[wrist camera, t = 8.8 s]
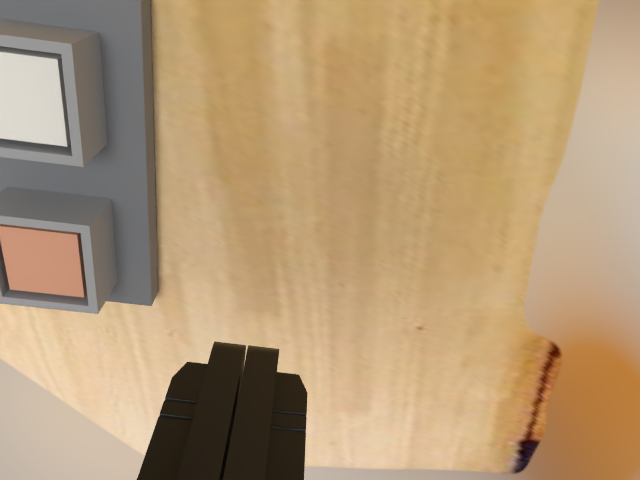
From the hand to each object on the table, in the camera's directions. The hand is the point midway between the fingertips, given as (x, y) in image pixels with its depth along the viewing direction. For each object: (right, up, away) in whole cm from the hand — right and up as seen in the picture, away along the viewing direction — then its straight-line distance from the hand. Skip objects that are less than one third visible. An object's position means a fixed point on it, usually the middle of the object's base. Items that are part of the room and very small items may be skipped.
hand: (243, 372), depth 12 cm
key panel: (-16, +9, +25) cm, 31 cm away
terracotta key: (-17, +3, +25) cm, 30 cm away
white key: (-15, +12, +19) cm, 27 cm away
